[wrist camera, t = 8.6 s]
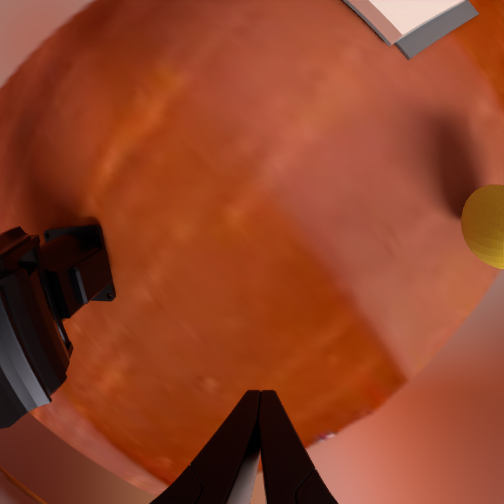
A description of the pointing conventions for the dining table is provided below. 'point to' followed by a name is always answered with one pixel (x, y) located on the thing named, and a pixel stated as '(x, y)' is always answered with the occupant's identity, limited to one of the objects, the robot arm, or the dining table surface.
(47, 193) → the dining table surface
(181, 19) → the dining table surface
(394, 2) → the white rectangular block
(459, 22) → the mat
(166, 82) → the dining table surface
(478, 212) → the lemon
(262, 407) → the robot arm
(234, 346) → the dining table surface
